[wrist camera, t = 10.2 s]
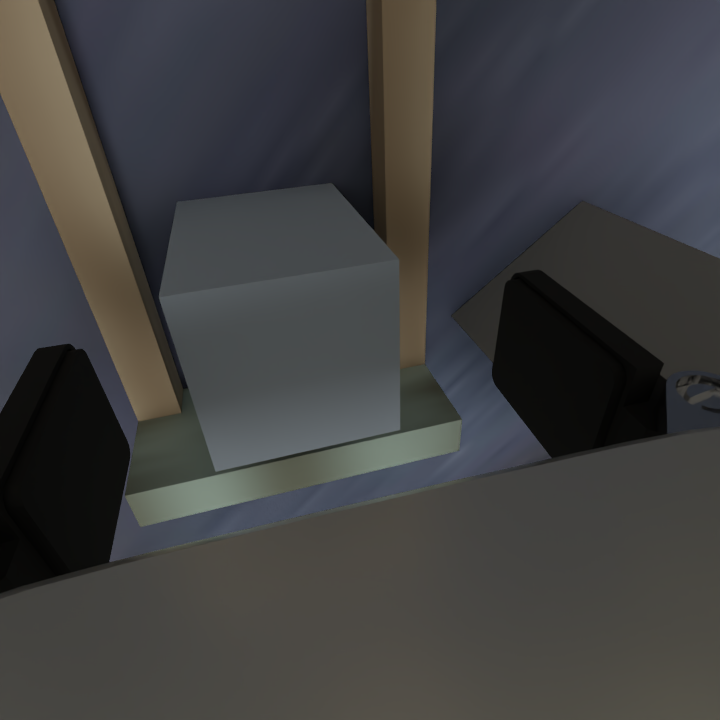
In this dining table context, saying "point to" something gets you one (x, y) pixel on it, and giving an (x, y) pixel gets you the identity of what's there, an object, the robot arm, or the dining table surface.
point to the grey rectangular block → (283, 322)
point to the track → (132, 293)
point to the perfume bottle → (620, 287)
